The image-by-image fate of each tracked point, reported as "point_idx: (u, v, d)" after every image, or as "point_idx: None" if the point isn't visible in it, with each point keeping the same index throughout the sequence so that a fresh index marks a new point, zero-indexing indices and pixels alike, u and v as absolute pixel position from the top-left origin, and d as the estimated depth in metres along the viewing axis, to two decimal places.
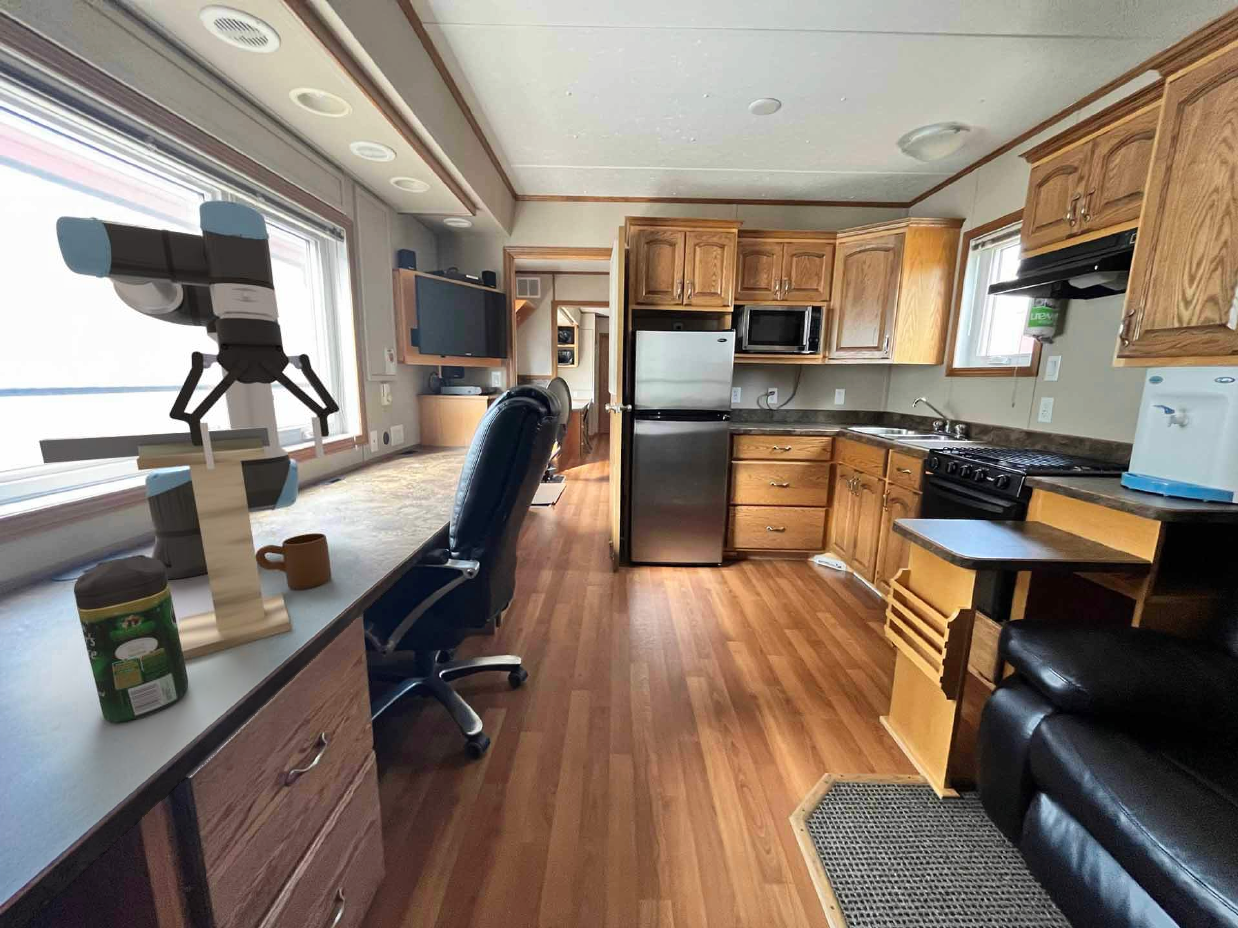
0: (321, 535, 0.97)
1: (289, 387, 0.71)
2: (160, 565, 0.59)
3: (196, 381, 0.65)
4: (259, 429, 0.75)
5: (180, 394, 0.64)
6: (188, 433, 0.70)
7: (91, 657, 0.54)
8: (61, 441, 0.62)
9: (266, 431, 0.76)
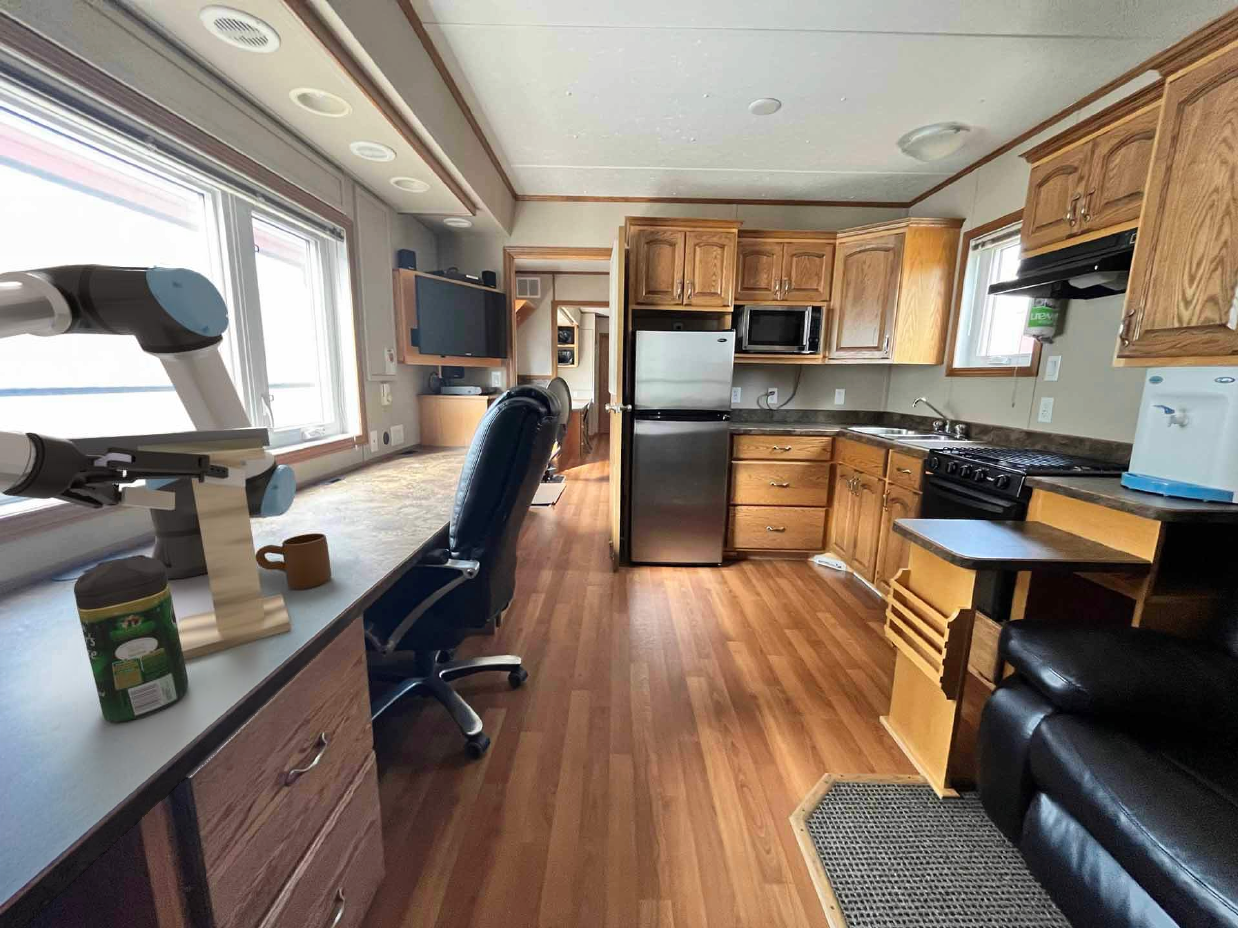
0: (321, 535, 0.97)
1: (141, 478, 0.62)
2: (160, 565, 0.59)
3: (70, 498, 0.63)
4: (259, 429, 0.75)
5: (76, 503, 0.65)
6: (188, 433, 0.70)
7: (91, 657, 0.54)
8: None
9: (266, 431, 0.76)
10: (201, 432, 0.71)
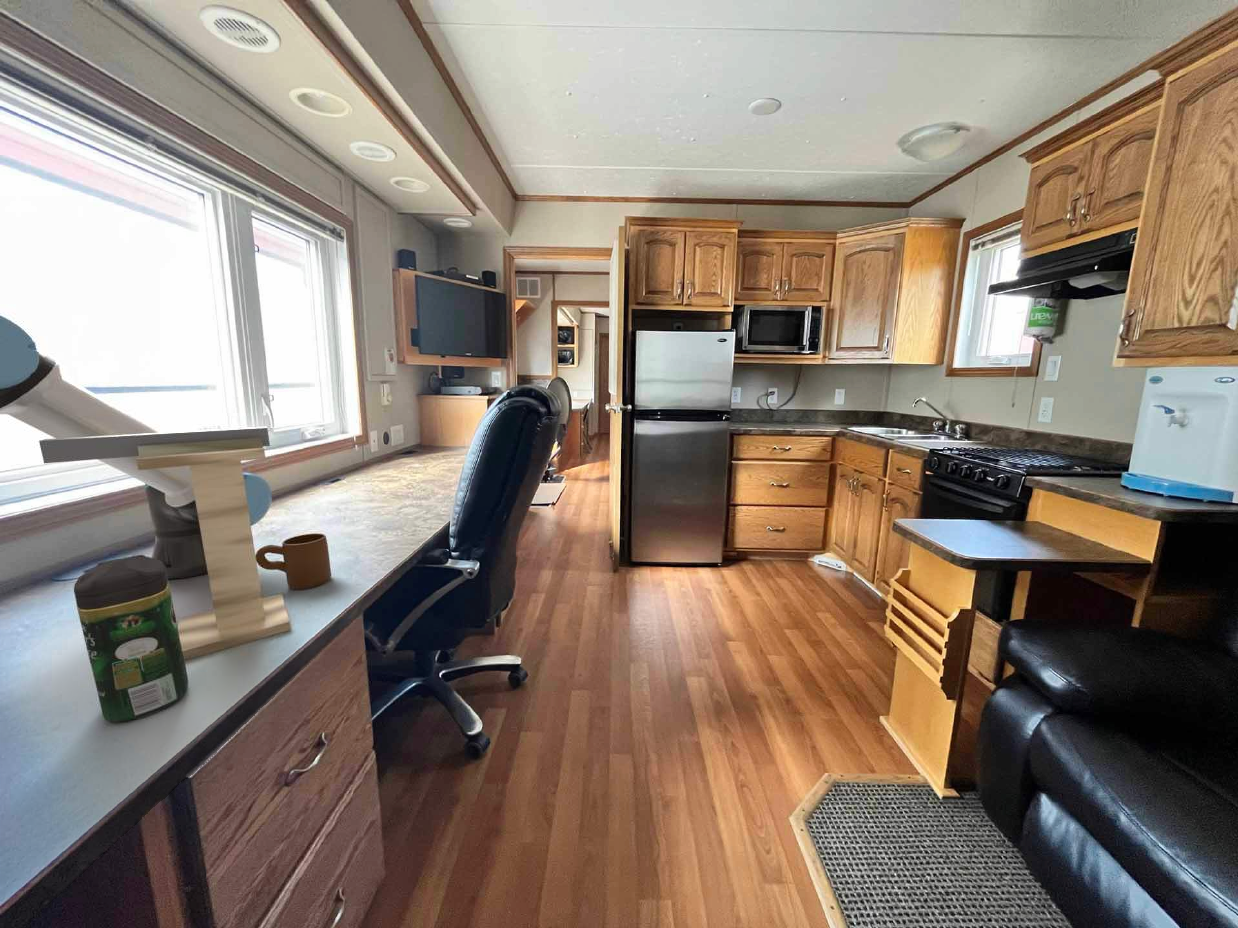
0: (321, 535, 0.97)
1: None
2: (160, 565, 0.59)
3: None
4: (259, 429, 0.75)
5: None
6: (188, 433, 0.70)
7: (91, 657, 0.54)
8: (61, 441, 0.62)
9: (266, 431, 0.76)
10: (201, 432, 0.71)
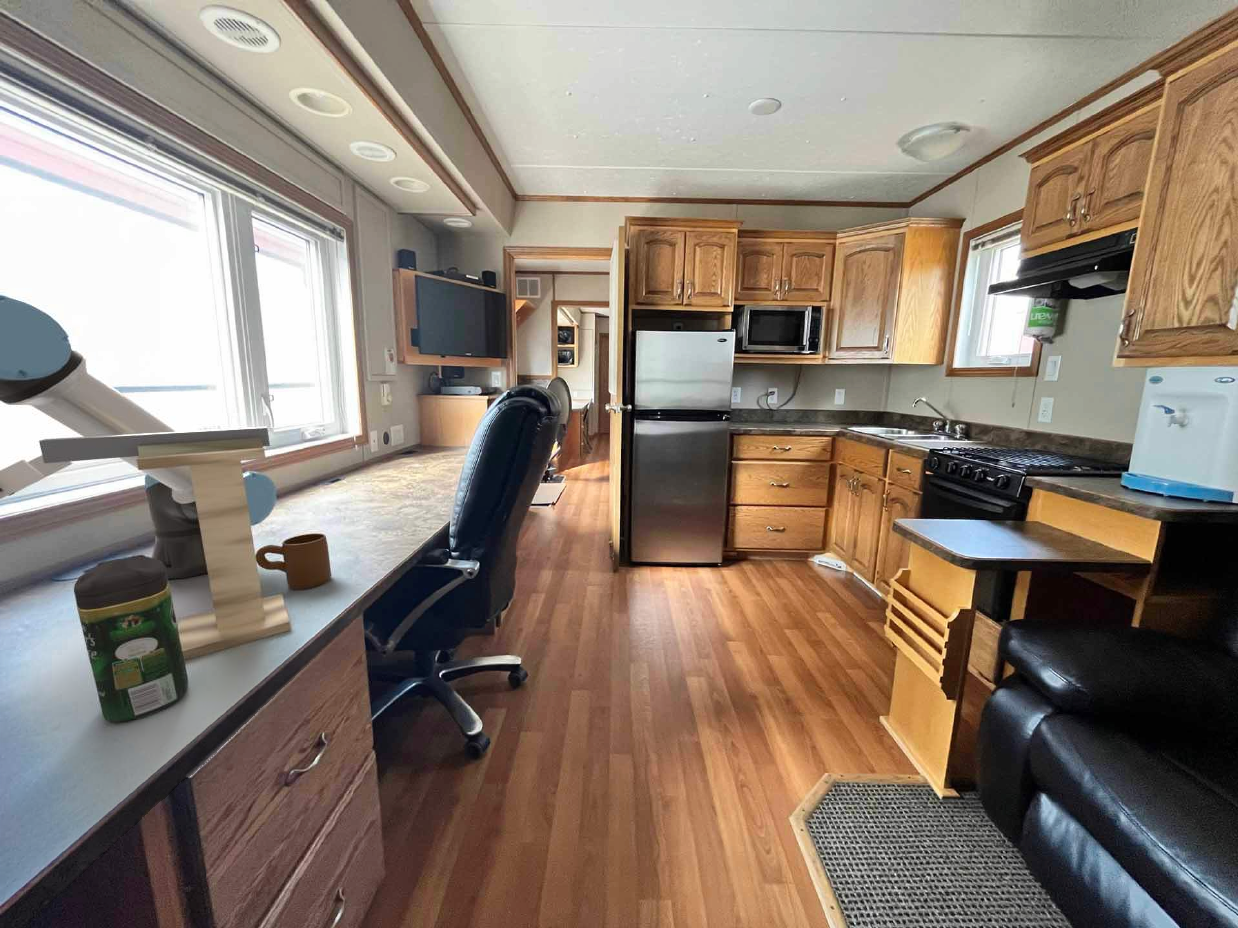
0: (321, 535, 0.97)
1: None
2: (160, 565, 0.59)
3: None
4: (259, 429, 0.75)
5: None
6: (188, 433, 0.70)
7: (91, 657, 0.54)
8: (61, 441, 0.62)
9: (266, 431, 0.76)
10: (201, 432, 0.71)
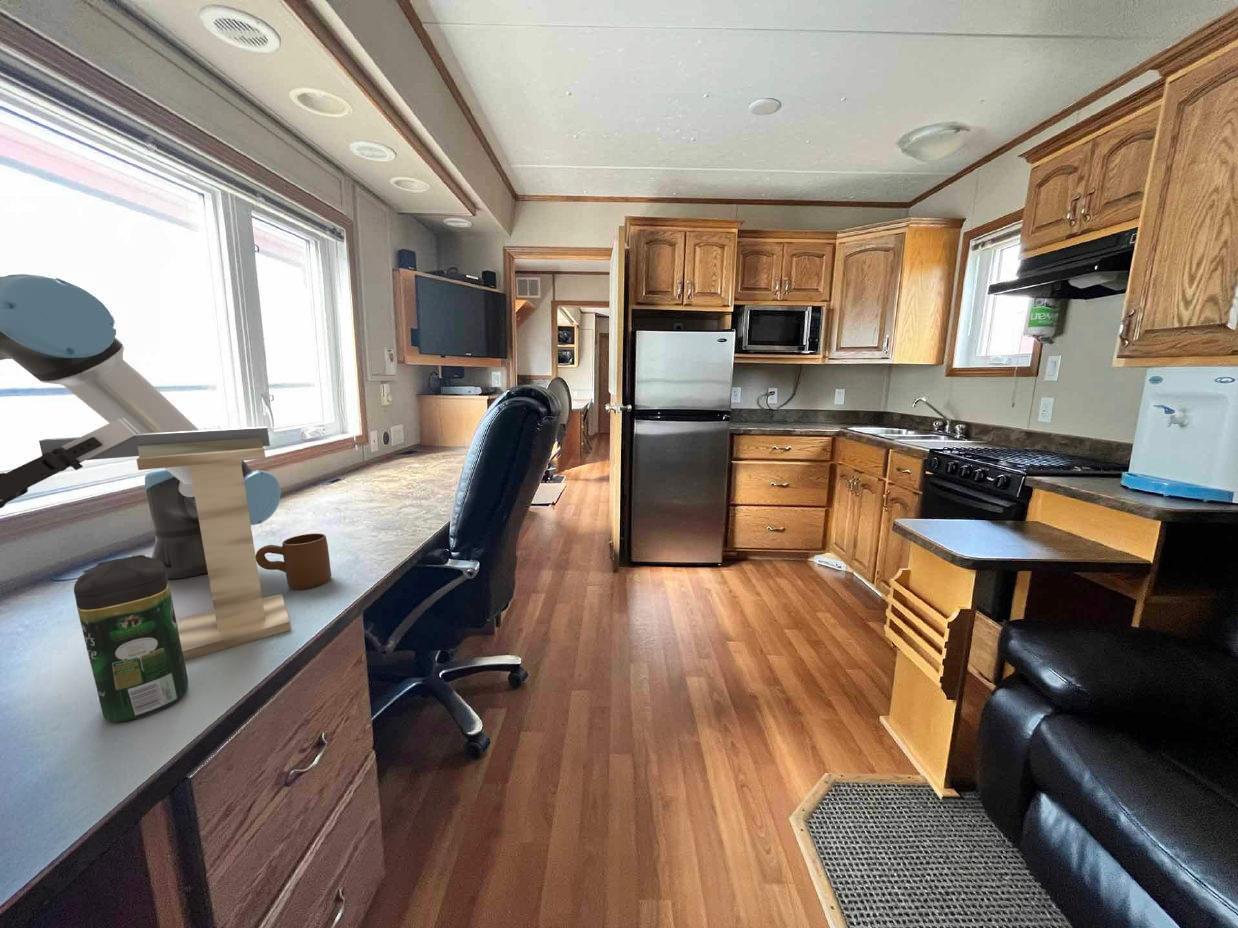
0: (321, 535, 0.97)
1: None
2: (160, 565, 0.59)
3: None
4: (259, 429, 0.75)
5: None
6: (188, 433, 0.70)
7: (91, 657, 0.54)
8: (61, 441, 0.62)
9: (266, 431, 0.76)
10: (201, 432, 0.71)
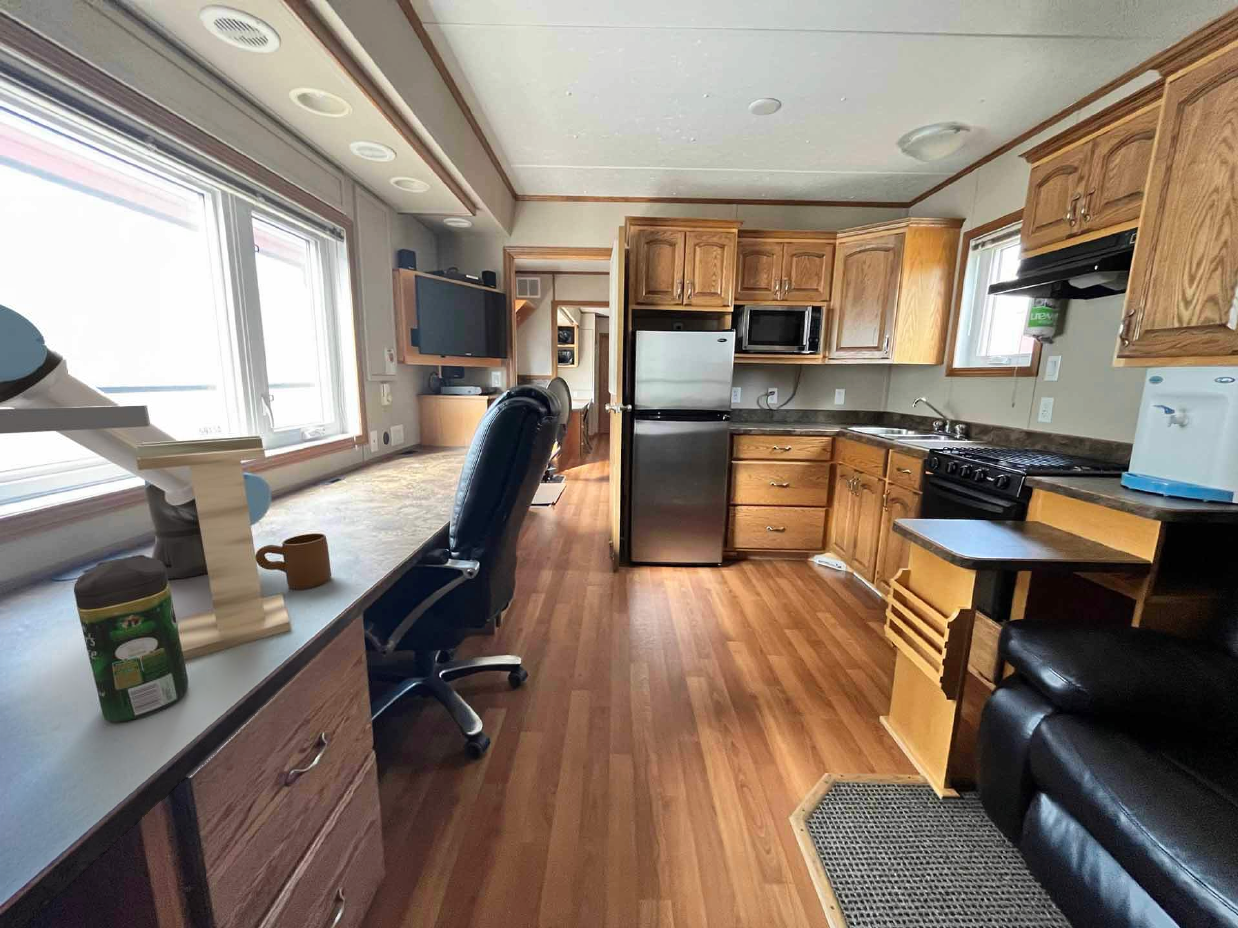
0: (321, 535, 0.97)
1: None
2: (160, 565, 0.59)
3: None
4: (134, 407, 0.66)
5: None
6: (40, 409, 0.60)
7: (91, 657, 0.54)
8: None
9: (143, 409, 0.66)
10: (57, 409, 0.61)
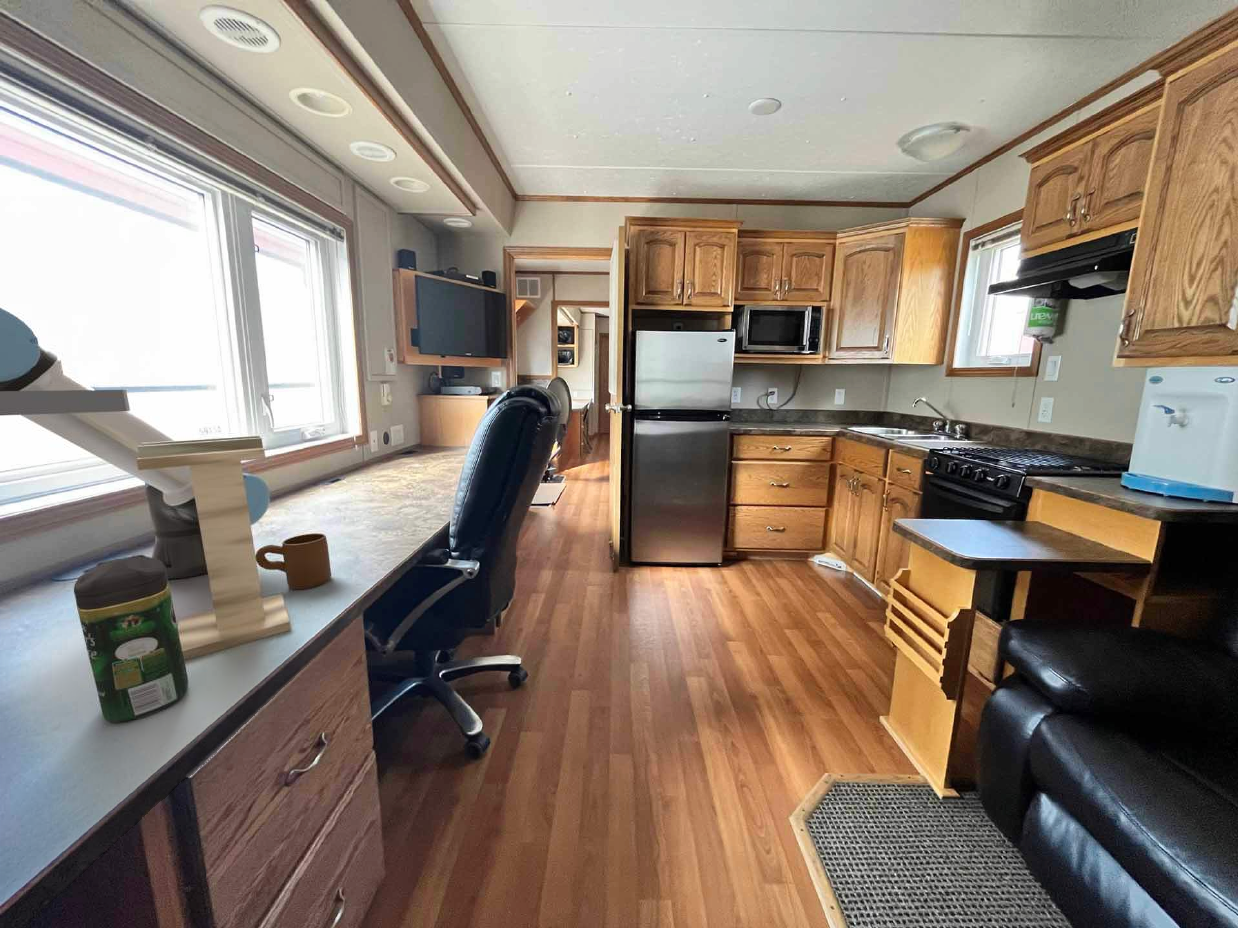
0: (321, 535, 0.97)
1: None
2: (160, 565, 0.59)
3: None
4: (112, 391, 0.64)
5: None
6: (14, 392, 0.59)
7: (91, 657, 0.54)
8: None
9: (121, 394, 0.65)
10: (32, 392, 0.60)
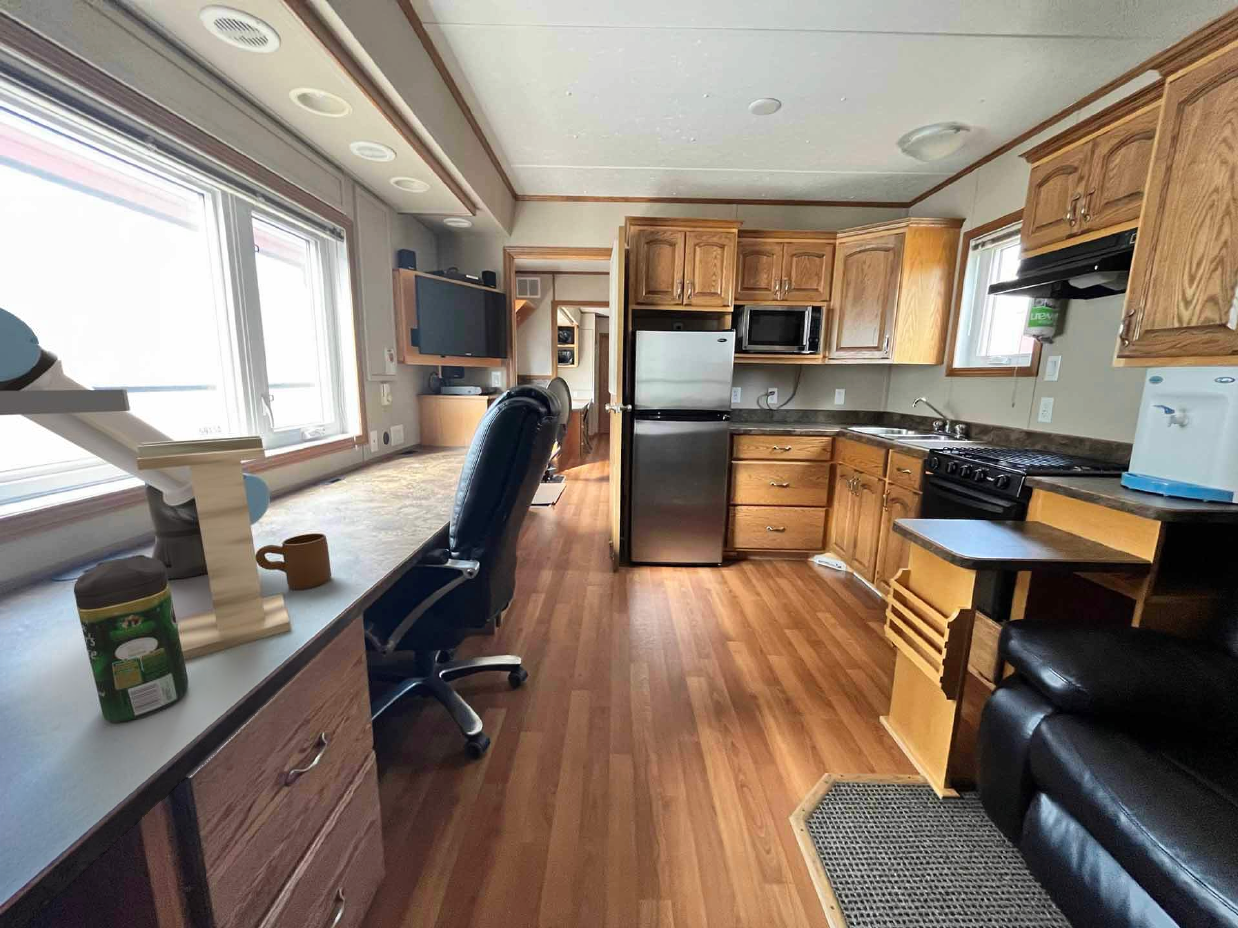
0: (321, 535, 0.97)
1: None
2: (160, 565, 0.59)
3: None
4: (112, 391, 0.64)
5: None
6: (14, 392, 0.59)
7: (91, 657, 0.54)
8: None
9: (121, 393, 0.65)
10: (32, 391, 0.60)
